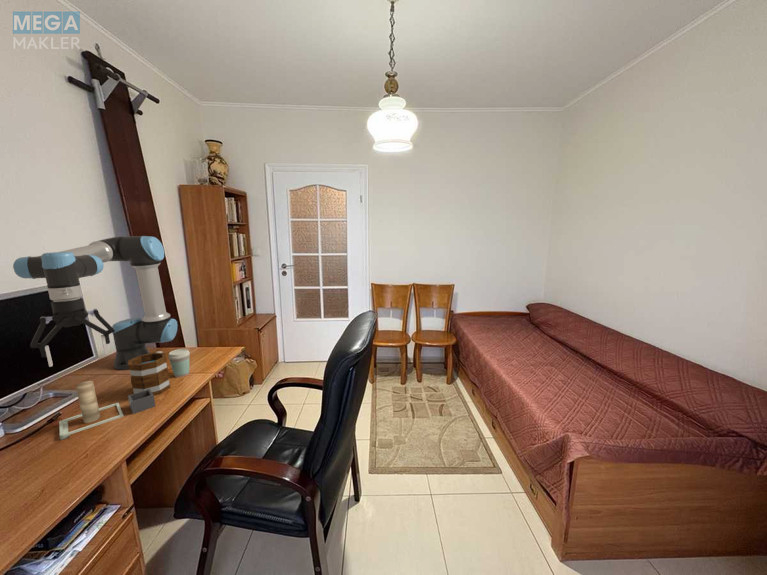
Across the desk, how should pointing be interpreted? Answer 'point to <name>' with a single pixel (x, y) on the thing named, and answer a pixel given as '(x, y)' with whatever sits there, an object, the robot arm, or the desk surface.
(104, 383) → the desk surface
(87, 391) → the dowel
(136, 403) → the pen cup
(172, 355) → the coffee cup
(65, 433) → the tray
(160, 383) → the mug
